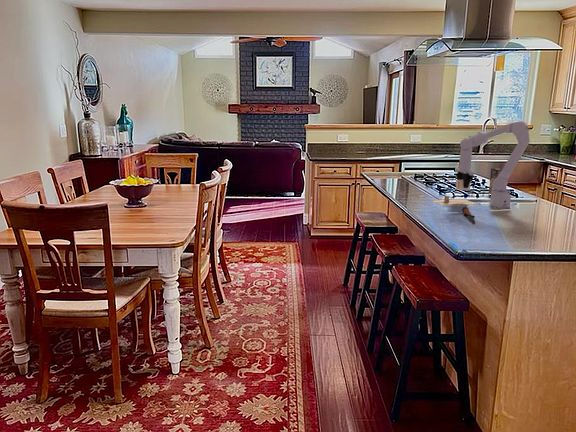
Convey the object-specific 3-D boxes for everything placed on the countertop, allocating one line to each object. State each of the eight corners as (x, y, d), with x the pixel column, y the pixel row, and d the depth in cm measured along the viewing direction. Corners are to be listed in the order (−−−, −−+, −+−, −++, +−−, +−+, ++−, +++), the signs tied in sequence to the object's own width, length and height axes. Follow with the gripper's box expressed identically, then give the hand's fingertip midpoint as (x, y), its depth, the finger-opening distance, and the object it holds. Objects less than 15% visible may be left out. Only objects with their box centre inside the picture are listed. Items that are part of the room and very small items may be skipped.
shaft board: (478, 206, 235) (479, 197, 234) (443, 207, 231) (444, 199, 230) (461, 200, 250) (462, 192, 249) (428, 201, 246) (429, 193, 245)
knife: (482, 223, 196) (470, 221, 196) (479, 230, 197) (468, 227, 197) (471, 207, 220) (460, 205, 220) (469, 213, 221) (458, 211, 221)
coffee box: (487, 195, 265) (490, 168, 262) (498, 195, 265) (501, 168, 261) (494, 198, 256) (497, 170, 253) (505, 198, 256) (508, 170, 253)
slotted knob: (465, 188, 242) (465, 179, 241) (469, 189, 238) (470, 180, 237) (455, 188, 241) (456, 179, 240) (460, 190, 237) (461, 180, 236)
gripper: (450, 160, 243) (449, 185, 246) (466, 163, 229) (464, 189, 232) (462, 159, 244) (460, 184, 247) (478, 162, 230) (476, 189, 233)
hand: (463, 187), depth 240 cm, fingers closed on slotted knob, 4 cm apart
